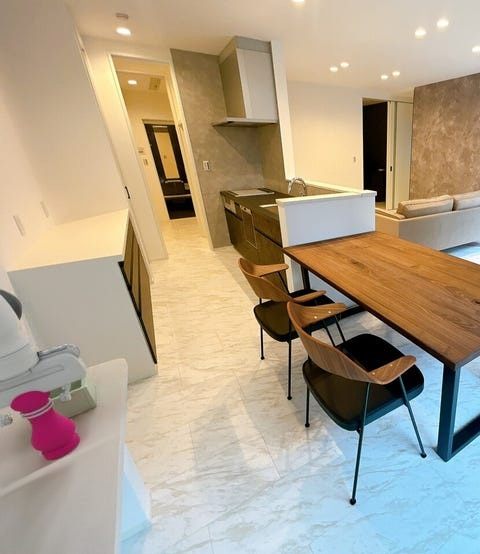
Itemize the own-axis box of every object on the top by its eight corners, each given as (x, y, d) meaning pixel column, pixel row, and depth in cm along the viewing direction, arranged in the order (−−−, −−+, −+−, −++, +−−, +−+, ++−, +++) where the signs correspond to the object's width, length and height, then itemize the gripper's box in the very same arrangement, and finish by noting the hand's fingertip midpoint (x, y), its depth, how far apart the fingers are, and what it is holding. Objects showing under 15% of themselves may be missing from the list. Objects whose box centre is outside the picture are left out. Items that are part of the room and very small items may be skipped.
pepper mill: (82, 429, 76) (45, 367, 68) (83, 447, 71) (43, 382, 63) (43, 448, 72) (-2, 383, 64) (40, 468, 67) (-9, 401, 59)
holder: (41, 430, 77) (28, 409, 74) (45, 406, 84) (33, 387, 82) (96, 406, 83) (86, 386, 81) (95, 386, 91) (85, 368, 88)
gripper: (74, 335, 70) (97, 381, 76) (-67, 378, 58) (-28, 429, 63) (74, 346, 66) (98, 394, 71) (-79, 395, 53) (-36, 449, 59)
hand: (38, 411), depth 67 cm, fingers open, 8 cm apart
